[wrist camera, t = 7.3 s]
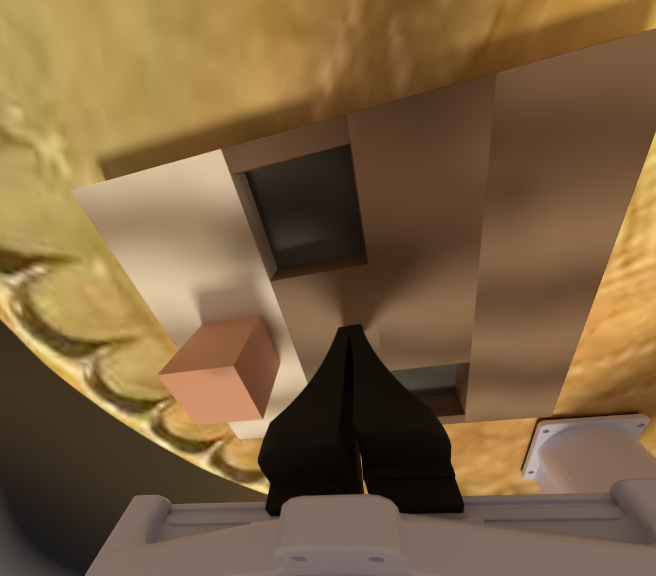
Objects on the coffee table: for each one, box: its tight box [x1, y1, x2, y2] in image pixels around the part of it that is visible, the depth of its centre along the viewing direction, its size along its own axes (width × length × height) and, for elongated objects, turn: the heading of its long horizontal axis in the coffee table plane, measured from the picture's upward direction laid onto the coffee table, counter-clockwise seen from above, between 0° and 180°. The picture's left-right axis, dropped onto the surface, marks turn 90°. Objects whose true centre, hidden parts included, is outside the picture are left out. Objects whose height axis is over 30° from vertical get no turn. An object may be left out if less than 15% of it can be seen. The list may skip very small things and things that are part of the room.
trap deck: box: [71, 29, 656, 439], centre depth 15 cm, size 21×25×2 cm
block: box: [157, 315, 281, 425], centre depth 13 cm, size 4×4×4 cm
